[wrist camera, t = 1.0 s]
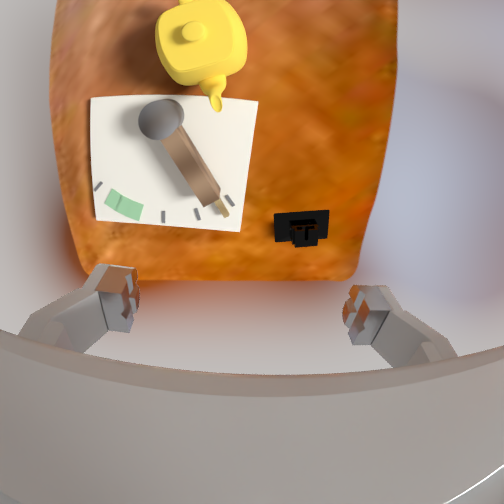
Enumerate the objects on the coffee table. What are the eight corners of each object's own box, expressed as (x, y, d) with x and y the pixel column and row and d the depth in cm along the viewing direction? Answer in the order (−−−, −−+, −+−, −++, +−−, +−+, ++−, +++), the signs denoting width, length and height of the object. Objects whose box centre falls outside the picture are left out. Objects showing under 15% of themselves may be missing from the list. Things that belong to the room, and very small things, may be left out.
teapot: (261, 96, 35) (270, 100, 26) (184, 118, 36) (167, 129, 27) (229, -13, 25) (226, -42, 16) (152, 11, 26) (125, -9, 17)
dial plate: (95, 97, 33) (90, 98, 31) (257, 101, 35) (258, 101, 34) (99, 216, 43) (95, 220, 42) (239, 227, 46) (239, 232, 45)
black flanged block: (337, 203, 45) (347, 215, 41) (334, 241, 49) (342, 255, 45) (262, 207, 45) (264, 221, 41) (264, 247, 49) (266, 262, 45)
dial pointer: (142, 111, 33) (130, 115, 29) (172, 91, 32) (164, 92, 28) (212, 221, 43) (210, 236, 39) (242, 206, 42) (242, 220, 38)
